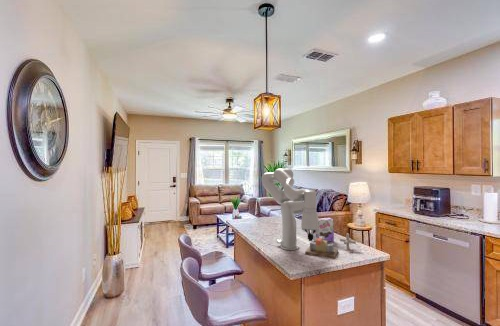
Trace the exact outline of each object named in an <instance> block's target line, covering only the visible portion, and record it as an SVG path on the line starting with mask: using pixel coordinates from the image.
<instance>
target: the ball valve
mask: <svg viewBox="0 0 500 326" xmlns="http://www.w3.org/2000/svg"><path fill="white" fill-rule="evenodd" d="M334 246H335V245H334V243H328V242H327V241H326V240H322V244H321V245H316V244H315V241H314V240H312V241H310V243H309V247H310V250H311V251H313V250H315V251H316V252H323V253H326V252H329V253H333V252H334V249H335V247H334Z"/></svg>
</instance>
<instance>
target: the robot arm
mask: <svg viewBox="0 0 500 326" xmlns="http://www.w3.org/2000/svg"><path fill="white" fill-rule="evenodd" d="M261 175H262V176H261V184H262V186H263V188H264V189H265V190H266V191H267V192H268V193H269V194H270V196H271V197H272V199H274V201H275V202H276V203H277V204H278V205H280V212H281V222H282V223H281V225H282V227H281V229H282V231H281V232H282V239H277V240H276V243H277V244H280V246H279V247H280V249H282V250H285V251H296V250H298V249H299V248H300V245H298V244H297V220H296V217H295V216H294V215H300V214H301V223H300V224H301V231H303V232H305V233H306V234H307V240H308V242H311V241H314V240H313V234H314V233H315V232H319V213H318V212H317V192H316V190H315V189H314V190H313V189H312V190H311V189H306V188H299V189H298V188H297V189H294V188H292V187H293V185H294V184H295V179H294V178H293V177H294V172H293V170H292V169H291V168H277V169H275V170H274V171H273V172H272V171H269V172H264V173H262V174H261ZM278 184H281V186H283V187H282V188H281V187H280V186H279V185H278ZM282 189H283V190H282Z"/></svg>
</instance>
